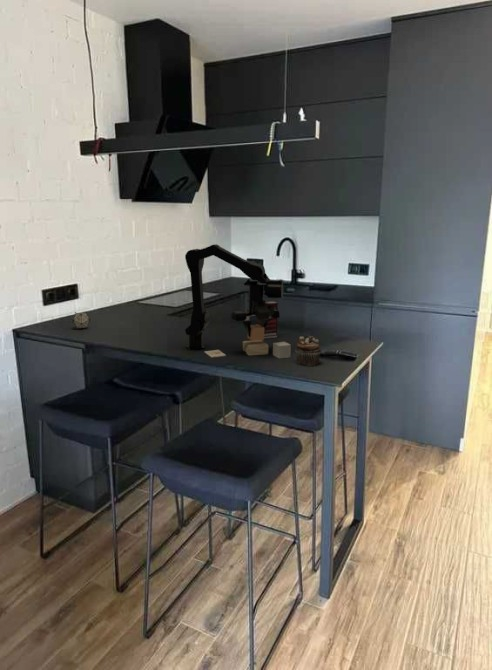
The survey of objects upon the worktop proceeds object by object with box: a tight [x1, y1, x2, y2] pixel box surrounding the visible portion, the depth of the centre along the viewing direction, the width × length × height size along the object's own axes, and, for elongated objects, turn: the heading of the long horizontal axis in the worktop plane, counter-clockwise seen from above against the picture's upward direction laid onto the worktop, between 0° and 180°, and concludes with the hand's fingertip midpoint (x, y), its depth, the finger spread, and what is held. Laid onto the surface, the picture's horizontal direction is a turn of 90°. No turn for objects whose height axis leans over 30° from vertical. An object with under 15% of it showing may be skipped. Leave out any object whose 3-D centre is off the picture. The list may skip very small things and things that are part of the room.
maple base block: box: [242, 340, 269, 356], centre depth 189 cm, size 8×8×4 cm
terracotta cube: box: [246, 324, 265, 341], centre depth 187 cm, size 5×5×5 cm
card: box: [203, 349, 227, 358], centre depth 185 cm, size 8×6×1 cm
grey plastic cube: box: [272, 341, 292, 359], centre depth 183 cm, size 5×5×5 cm
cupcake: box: [295, 334, 322, 367], centre depth 175 cm, size 10×10×10 cm
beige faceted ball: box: [71, 311, 91, 330], centre depth 223 cm, size 9×8×10 cm
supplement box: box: [255, 300, 279, 340], centre depth 211 cm, size 9×5×16 cm, turn 113°
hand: (255, 336), depth 187 cm, fingers closed on terracotta cube, 5 cm apart
